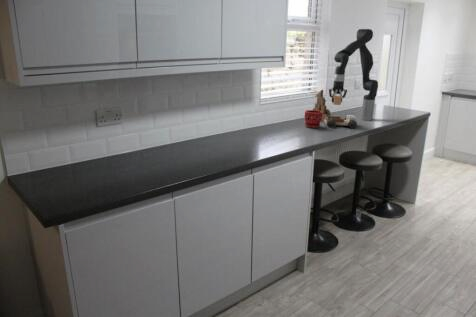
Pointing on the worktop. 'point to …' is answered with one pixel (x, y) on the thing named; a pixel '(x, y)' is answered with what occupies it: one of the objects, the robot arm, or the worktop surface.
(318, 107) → the wooden toy
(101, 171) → the worktop surface
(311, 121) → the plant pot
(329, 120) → the car chassis
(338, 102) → the engine block
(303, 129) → the worktop surface
